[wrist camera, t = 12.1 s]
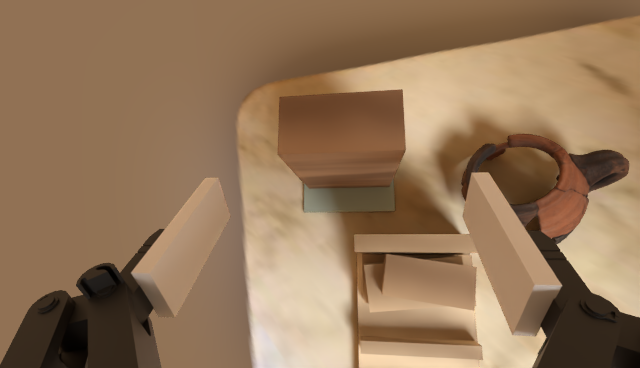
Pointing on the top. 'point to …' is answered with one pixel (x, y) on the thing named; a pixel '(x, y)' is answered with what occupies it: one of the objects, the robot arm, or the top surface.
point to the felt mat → (349, 199)
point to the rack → (416, 301)
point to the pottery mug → (571, 189)
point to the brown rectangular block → (343, 138)
